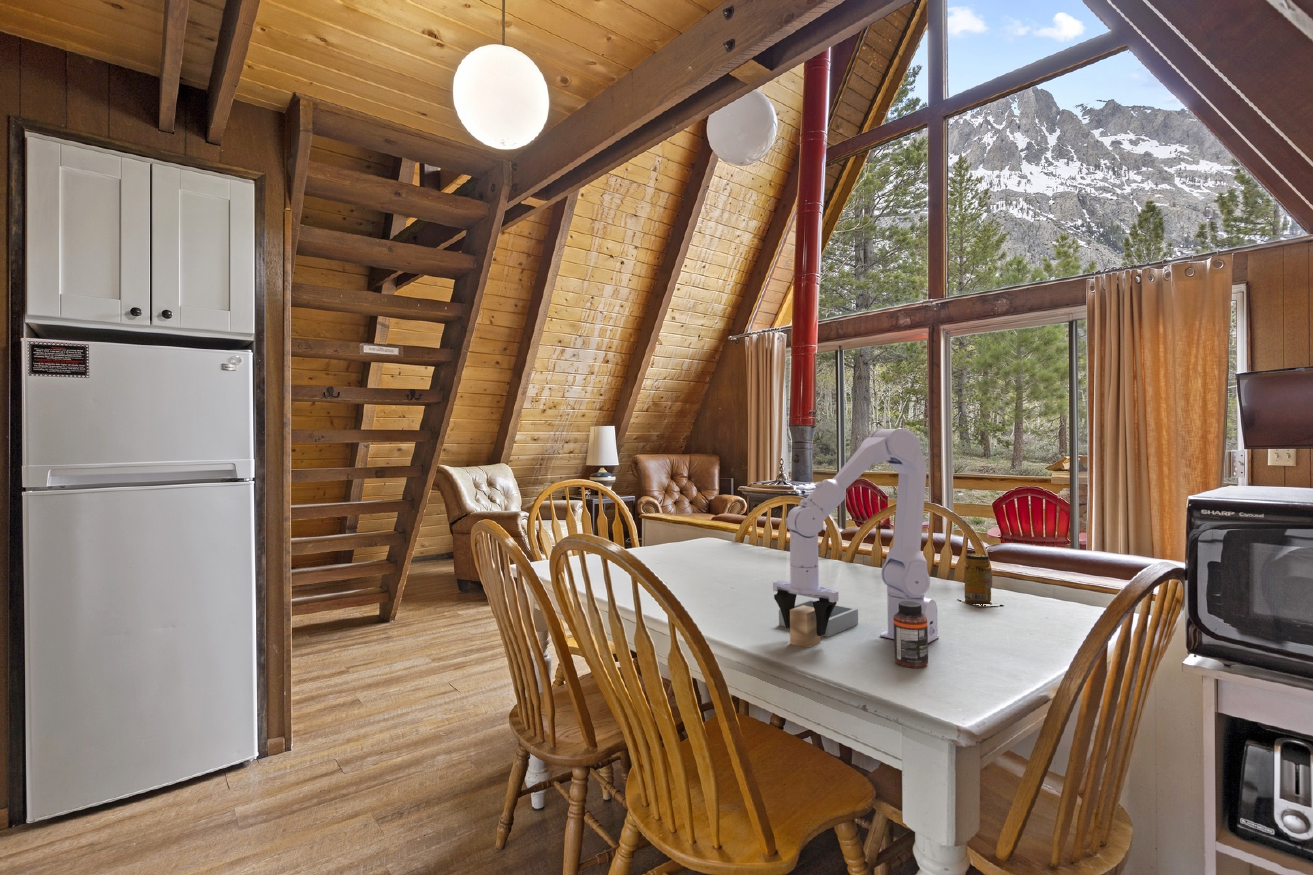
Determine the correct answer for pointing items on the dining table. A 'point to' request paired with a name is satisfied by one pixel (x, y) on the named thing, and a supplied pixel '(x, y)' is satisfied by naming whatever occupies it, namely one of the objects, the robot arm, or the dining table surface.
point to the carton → (803, 627)
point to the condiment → (977, 580)
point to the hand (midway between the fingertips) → (805, 630)
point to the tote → (833, 618)
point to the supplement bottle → (910, 635)
